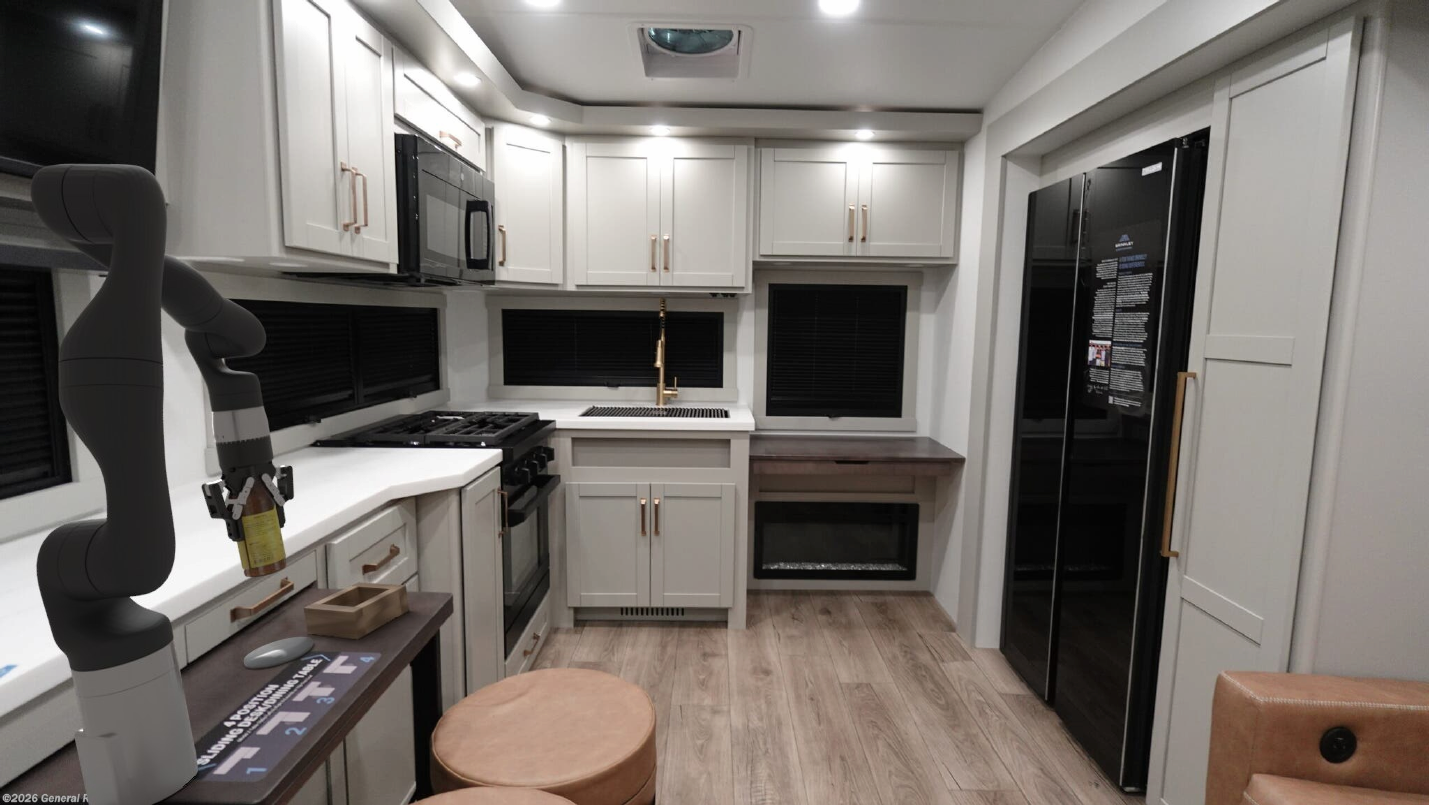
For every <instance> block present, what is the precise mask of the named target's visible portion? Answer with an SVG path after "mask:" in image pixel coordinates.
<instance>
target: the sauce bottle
mask: <svg viewBox="0 0 1429 805" xmlns="http://www.w3.org/2000/svg"><path fill="white" fill-rule="evenodd" d="M246 476H248V477H252V478H253V479H254V483H253V486H252V488H251V489H250V493H249V495H248V497H247V500H246V504H245V505H243V506H242V507H243V508H242V512H241V515H240V518H242V524H243V530H244V536H245V540H243V541H240V542H236V544H237V549H238V553H239V559H240V564H241V568H242V569H243V574H244V576H245V577H246V578H260V577H266V576H269V575H273V574H275V573H278V572H280V571H282V570H284V569H286V567H287V560H286V559H287V555H286V550H285V546H284V540H283V534H282V528H281V529H280V525H279V519H278V515H277V509H276V505H275V501H274V499H273V498H272V496H271V495H270V493H269V491H268V490H267V489H266V487H265V486H264V485H263V484H262V482H261V481H260V479H259V472H258V467H257V465H253V466H247V467H246ZM238 497H239V495H232V497H231V499H237V498H238ZM233 507H234V504H233V505H232V509H233Z"/></svg>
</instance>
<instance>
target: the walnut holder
mask: <svg viewBox="0 0 1429 805" xmlns="http://www.w3.org/2000/svg"><path fill="white" fill-rule="evenodd" d="M407 591H408V590H407V585H406V584H405V585H404V584H389V583H375V582H357V583H355V584H352V585H350V586H348V587H346V588H344V589H342V590H339V591H337V592H335V593H333V594H331V595H328V596H326V597H324V598H322V599H319V600H318V601H317V600H316V601H315V602H314V603H311V604H309V605H307V606H305V607H303V611H304V612H303V613H304V618H305V619H304V620H305V624H306V630H307V634H308V635H312V634H318V635H317V636H321V635H327V636H326V637H331V636H334V637H333V638H342V639H343V638H344V639H351V640H359V639H361V638H362V637H364V636H366V635H369V633H372V632H373V631H375V630H377V629H379V628H380V627H382V626H384V625H386V624H388V623H389V622H391V621H393V620H395V619H396V618H395V617H397V618H398V617H400V616H403V615H404V614H406V613H407V612H409V611H410V604H409V598H408V593H407ZM394 618H395V619H394ZM392 619H393V620H392ZM390 620H391V621H390ZM387 622H388V623H387Z"/></svg>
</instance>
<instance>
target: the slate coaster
mask: <svg viewBox="0 0 1429 805" xmlns="http://www.w3.org/2000/svg"><path fill="white" fill-rule="evenodd" d="M313 646H314V640H313V639H312V638H311V637H308V636H294V637H287V638H283V639H279V640H276V641H273V642H269V643H266V644H264V645H262V646H260V647H257V648H256V649H254V650H252V651H250V652H249V653H248V654H247V655H246V656H245V657H244V658H243V664H244V666H245V668H247V669H253V670H255V669H257V670H258V669H265V668H267V669H268V668H273V667H275V666H279V665H283V664H285V663H288V662H291V661H294V660H296V659H298V658H300V657H302V656H304V655H305V654H307V653H308V652H310V651H311V649H312V648H313Z"/></svg>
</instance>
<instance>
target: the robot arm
mask: <svg viewBox="0 0 1429 805" xmlns="http://www.w3.org/2000/svg"><path fill="white" fill-rule="evenodd" d="M30 198H31V204H32V205H33V209H34V211H35V212H36V215H37V216H38V218H39V219H40V221H41V222H42V223H43V225H45V227H46V228H47V229H49V231H50V232H51V233H53V234H54V235H55V236H56V237H58V238H59V239H60V240H62V241H64V242H65V244H68V246H71V247H73V248H74V249H75V250H77V251H79V252H80V253H82V254H84V255H85V256H87V257H89V258H90V259H92V260H93V261H94V262H97V264H99V265H100V266H102V267H104V268H106V269H107V270H108V272H107V274H106V277H105V279H104V281H103V283H102V285H101V287H100V288H99V290H98V291H97V292H96V293H95V295H94V297H93V298H92V299H91V300H90V302H89V303H88V304H87V305H86V307H84V309H83V310H82V311H81V313H80V314H79V315H78V317H77V318H76V319H75V320H74V322H73V323H72V325H71V326H70V327H69V329H68V330H67V332H66V334H65V335H64V337H63V339H62V342H61V344H60V346H59V350H58V398H59V400H58V401H59V404H60V408H61V411H62V413H63V415H64V417H65V419H66V421H67V422H68V423H69V425H70V426H71V428H72V429H73V432H75V434H76V436H77V437H78V438H79V440H80V441H81V442H82V443H83V445H84V446H85V447H86V449H87V450H88V451H89V452H90V454H91V455H92V457H93V458H94V461H95V462H96V463H97V465H98V467H99V469H100V471H101V475H102V478H103V483H104V488H105V499H106V517H103V518H101V517H100V518H91V519H83V520H75V521H72V522H66V523H63V525H60V526H58V527H56V528H54V530H52V531H51V532H50V533H49V534H48V535H47V536H46V537H45V539H44V540H43V542H42V543H41V545H40V548H39V550H38V553H37V556H36V565H35V566H36V567H35V568H36V578H37V585H38V589H39V592H40V594H39V595H40V597H41V600H42V603H43V607H44V611H45V615H46V617H47V621H48V625H49V628H50V632H51V634H52V638H53V640H54V642H55V644H56V646H57V648H59V650H60V651H61V652H62V653H63V654H64V655H65V657H67V658H66V659H67V660H68V664H69V665H68V666H69V668H70V672H71V677H72V683H73V686H74V691H75V696H76V697H75V698H76V701H77V707H78V712H79V717H80V721H81V726H82V728H80V729H78V730H77V731H76V732H74V739H75V740H74V741H75V745H76V749H77V756H78V759H79V764H80V770H81V773H82V778H83V784H84V788H85V789H84V790H85V793H86V797H87V803H88V805H154V804H156V803H158V802H161V801H163V800H164V799H166V798H168V797H170V796H172V795H173V794H176V793H177V792H178V791H180V790H181V789H183V788H184V787H185V786H186V785H185V784H186V783H188V782H189V781H190V780H191V779H192V778H193V777H194V776H196V775H197V773H198V772H199V765H198V760H197V751H196V748H195V743H194V737H193V733H192V732H193V731H192V727H191V722H190V716H189V711H188V707H187V701H186V695H185V689H184V685H183V679H182V673H181V670H180V664H179V657H178V651H177V648H176V642H175V637H174V631H173V626H172V623H171V620H170V618H169V617H168V616H167V615H166V614H164V613H162V612H158V611H156V610H152V609H149V608H146V607H144V606H142V605H140V604H139V603H137V602H136V601H135V600H134V599H133V597H140V596H145V595H148V594H151V593H153V592H155V591H157V590H158V589H160V588H162V586H163V585H164V584H165V582H167V580H168V578H169V576H170V575H171V573H172V571H173V568H174V565H175V558H176V548H177V547H176V546H177V545H176V532H175V531H176V530H175V522H174V516H173V510H172V503H171V497H170V496H171V495H170V488H169V482H168V472H167V464H166V463H167V462H166V448H165V432H164V431H165V430H164V429H165V428H164V424H165V423H164V396H165V395H164V394H165V387H164V386H165V381H164V379H165V378H164V377H165V376H164V371H165V370H164V357H163V356H164V355H163V354H164V353H163V352H164V351H163V343H162V341H163V340H162V339H163V338H162V335H163V334H162V310H163V311H164V312H165V313H166V314H167V315H168V316H169V317H170V318H171V319H172V320H174V322H176V323H177V324H178V325H179V326H180V327H182V328H184V336H183V337H184V342H185V344H186V347H187V350H188V351H189V353H190V355H191V356H192V359H193V360H194V362H195V364H196V366H197V368H198V369H199V372H200V374H201V377H202V379H203V380H204V383H205V385H206V389H207V393H208V398H209V405H210V410H211V426H212V434H213V438H214V445H215V450H216V451H215V452H216V456H217V462H218V466H219V469H220V470H221V476H220V479H218V480H215V481H212V482H204V483H202V485H201V490H202V495H203V496H204V500H205V504H206V506H207V510H208V513H209V516H210V518H211V519H213V520H214V519H215V520H216V519H217V520H223V521H224V522H225V526H226V527H225V528H226V532H227V537H228V539H230V540H231V541H232V542H234V543H235V542H236V543H237V542H240V541H243V540H245V536H244V530H243V524H242V518H240V515H241V512H242V508H243V507H242V506H243V505H245V504H246V500H247V497H248V495H249V493H250V489H251V488H252V486H253V483H254V479H253V478H252V477H248V476H246V467H247V466H253V465H257V467H258V472H259V479H260V481H261V482H262V484H263V485H264V486H265V487H266V489H267V490H268V491H269V493H270V495H271V496H272V498H273V499H274V501H275V505H276V509H277V515H278V519H279V525H280V529H281V530H282V529H283V528H284V527H285V524H286V521H287V520H286V514H285V507H284V506H285V504H286V503H287V502H289V501H291V500H293V499H294V497H295V489H294V488H295V487H294V486H295V485H294V468H293V466H292V465H277V466H275V465H274V463H273V460H274V458H275V457H274V451H273V446H272V439H271V433H270V427H269V426H270V425H269V420H268V417H267V414H266V411H265V406H264V402H263V395H262V391H261V390H262V389H261V384H260V380H259V377H258V375H257V374H255V373H254V372H249V371H237V370H232V369H230V368H229V367H228V366H227V365H226V364H225V363H224V361H223V359H233V358H245V357H253V356H255V355H257V354H259V353H260V352H262V350H263V349H264V347H265V346H266V342H267V334H266V330H265V328H264V326H263V325H262V323H261V321H260V320H259V318H257V317H256V316H255V315H254V314H253V313H252V312H250V311H249V310H247V309H246V308H244V307H242V306H241V305H239V304H237V303H235V302H234V301H232V300H230V299H228V298H226V297H224V296H222V294H221V293H220V292H219V291H218V290H217V289H216V287H214V286H213V284H212V283H211V282H210V281H209V280H208V278H206V277H205V276H204V275H203V274H202V273H201V272H200V271H199V270H197V269H196V268H195V267H193V266H191V265H190V264H188V263H186V262H185V261H182V260H181V259H178V258H176V257H174V256H172V255H170V254H168V253H166V244H167V233H168V232H167V230H168V211H167V210H168V208H167V203H166V198H165V194H164V191H163V188H162V187H161V184H160V182H159V180H158V179H157V177H156V176H155V175H154V174H153V173H152V172H151V171H149V170H148V169H146V168H144V167H142V166H140V165H139V166H138V165H134V164H133V165H132V164H121V163H120V164H117V163H116V164H113V163H110V164H107V163H105V164H104V163H102V164H101V163H99V164H98V163H64V164H63V163H62V164H61V163H60V164H55V165H54V164H52V165H47V166H44V167H43V168H40V169H38V170H37V172H35V174H34V175H33V177H32V180H31V182H30ZM274 478H276V485H275V483H274V482H273V480H274ZM224 488H225V489H226V490H227V493H226V496H225V498H224V496H223V493H224V492H225V489H224ZM232 495H239V497H238V498H237V499H231V497H232ZM233 504H234V507H233V509H232V505H233ZM194 778H195V777H194ZM194 778H193V779H194ZM193 779H192V780H193ZM192 780H191V781H192ZM191 781H190V782H191ZM190 782H189V783H190ZM189 783H188V784H189ZM184 785H185V786H184ZM183 786H184V787H183Z"/></svg>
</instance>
